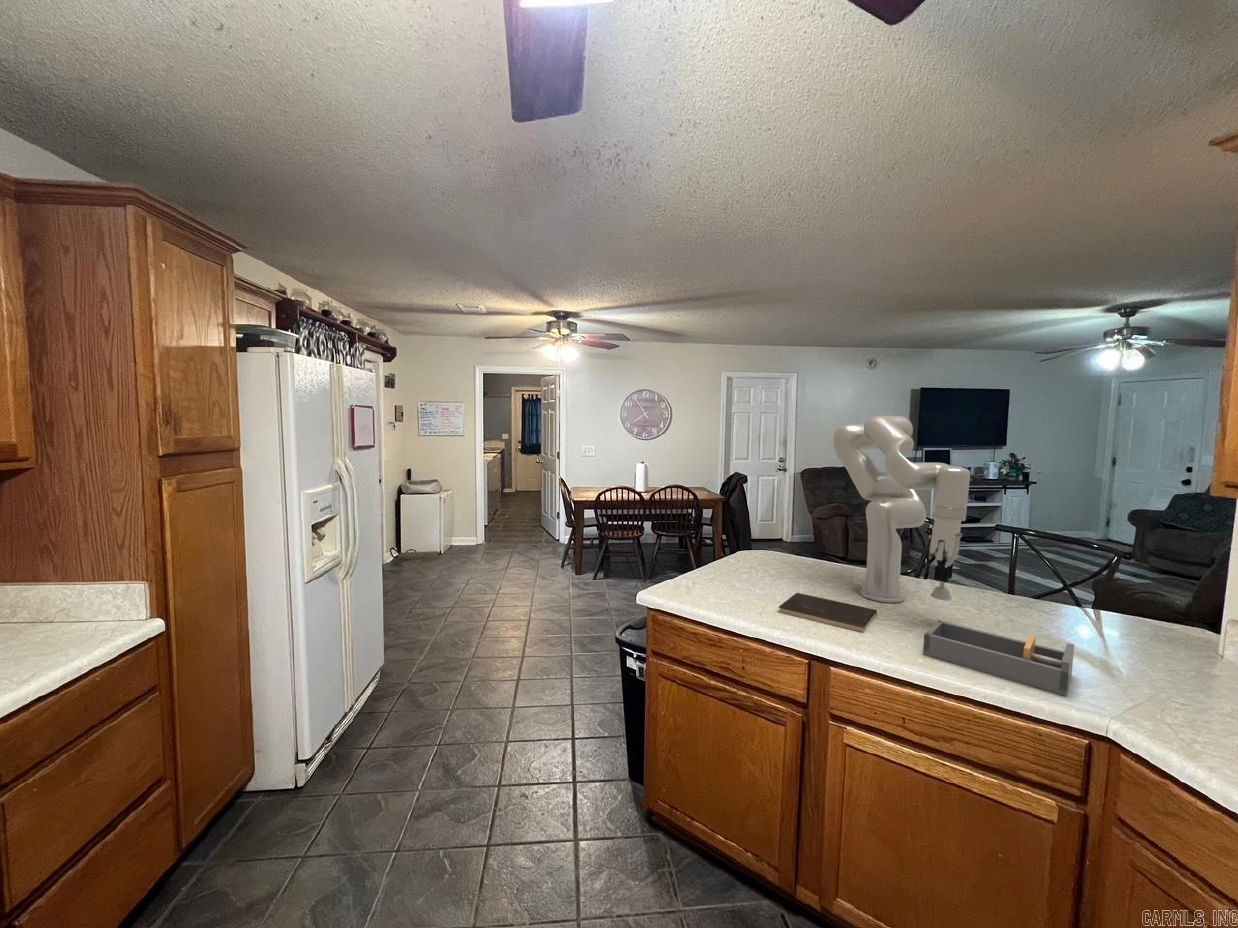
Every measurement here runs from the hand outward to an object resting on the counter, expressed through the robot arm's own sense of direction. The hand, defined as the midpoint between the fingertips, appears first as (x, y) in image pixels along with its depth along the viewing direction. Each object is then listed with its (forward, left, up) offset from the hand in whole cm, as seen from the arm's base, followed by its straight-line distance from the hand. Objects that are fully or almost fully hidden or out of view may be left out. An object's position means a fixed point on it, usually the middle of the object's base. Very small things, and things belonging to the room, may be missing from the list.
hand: (942, 578), depth 138 cm
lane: (+15, -17, -13) cm, 26 cm away
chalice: (0, 0, -5) cm, 5 cm away
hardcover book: (-25, -14, -14) cm, 32 cm away
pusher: (+23, -17, -12) cm, 31 cm away
